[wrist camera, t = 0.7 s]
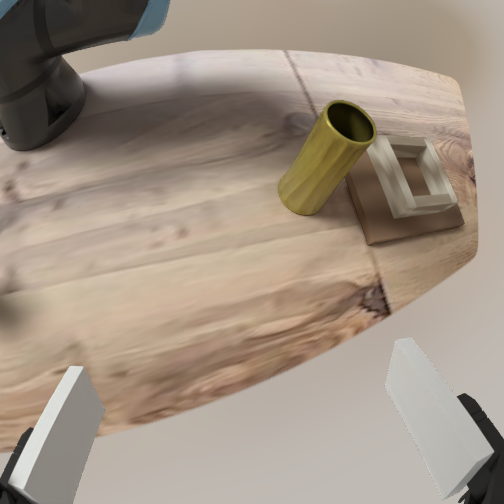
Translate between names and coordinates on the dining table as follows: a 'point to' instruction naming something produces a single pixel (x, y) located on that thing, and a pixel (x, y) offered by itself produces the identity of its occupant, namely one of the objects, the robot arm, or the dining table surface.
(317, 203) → the vase
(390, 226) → the stand
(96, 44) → the robot arm
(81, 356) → the dining table surface
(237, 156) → the dining table surface
